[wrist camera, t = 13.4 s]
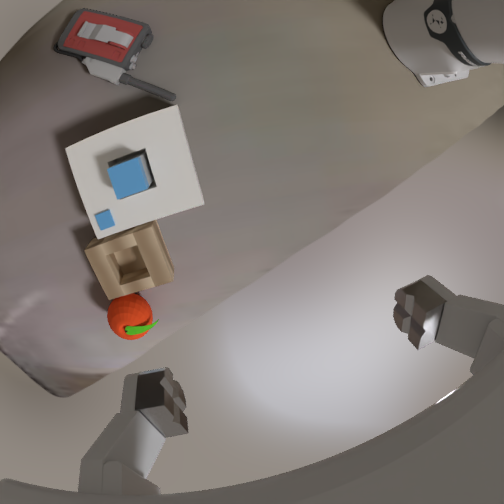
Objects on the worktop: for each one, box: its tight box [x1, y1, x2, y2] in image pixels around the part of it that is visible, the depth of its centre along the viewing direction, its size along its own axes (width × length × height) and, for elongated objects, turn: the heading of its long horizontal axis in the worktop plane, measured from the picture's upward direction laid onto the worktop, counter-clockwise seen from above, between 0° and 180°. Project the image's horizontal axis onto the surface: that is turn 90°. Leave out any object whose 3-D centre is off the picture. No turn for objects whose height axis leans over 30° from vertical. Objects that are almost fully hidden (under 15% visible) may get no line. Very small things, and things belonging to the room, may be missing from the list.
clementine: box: [107, 293, 159, 340], centre depth 39 cm, size 8×7×7 cm
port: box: [65, 105, 204, 239], centre depth 32 cm, size 14×12×5 cm
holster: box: [84, 220, 174, 300], centre depth 37 cm, size 10×8×4 cm
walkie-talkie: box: [54, 8, 176, 101], centre depth 25 cm, size 9×4×20 cm
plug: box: [107, 152, 154, 200], centre depth 30 cm, size 4×4×7 cm
